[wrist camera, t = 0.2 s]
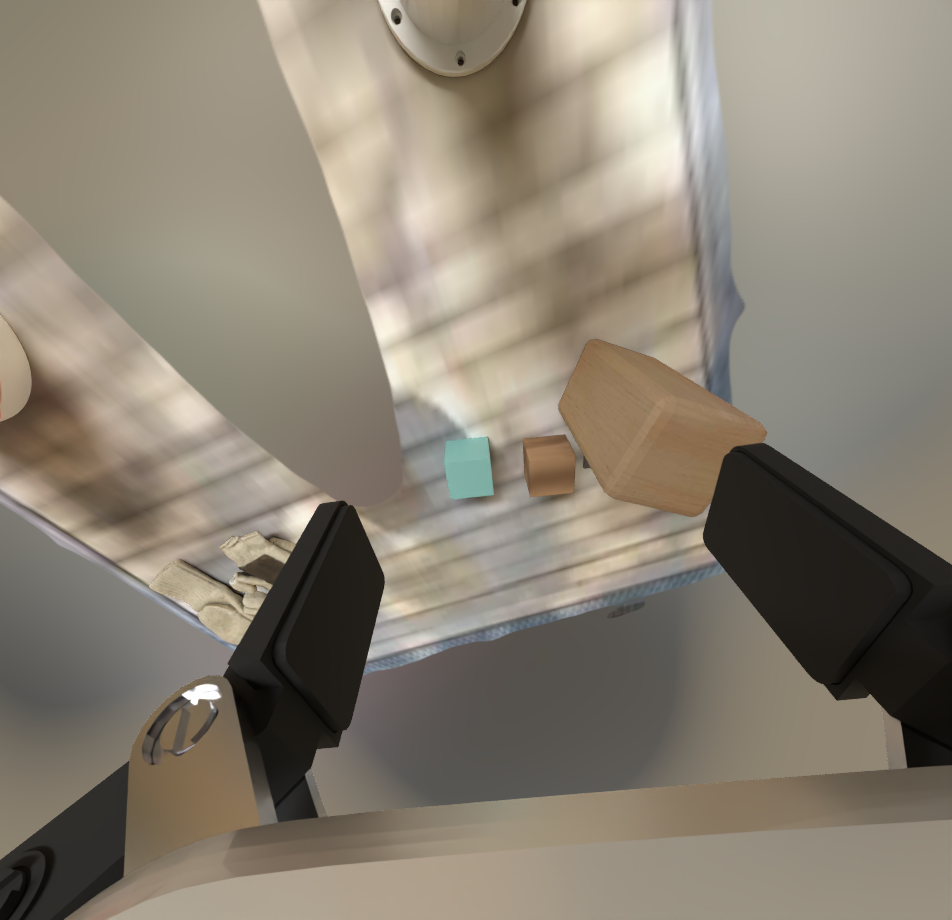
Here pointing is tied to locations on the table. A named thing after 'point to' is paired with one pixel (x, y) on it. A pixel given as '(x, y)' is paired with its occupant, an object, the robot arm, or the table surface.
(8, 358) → the potted cactus
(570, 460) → the walnut cube
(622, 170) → the table surface
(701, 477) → the wooden block
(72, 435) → the table surface
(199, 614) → the pair of gloves
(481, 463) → the teal cube
